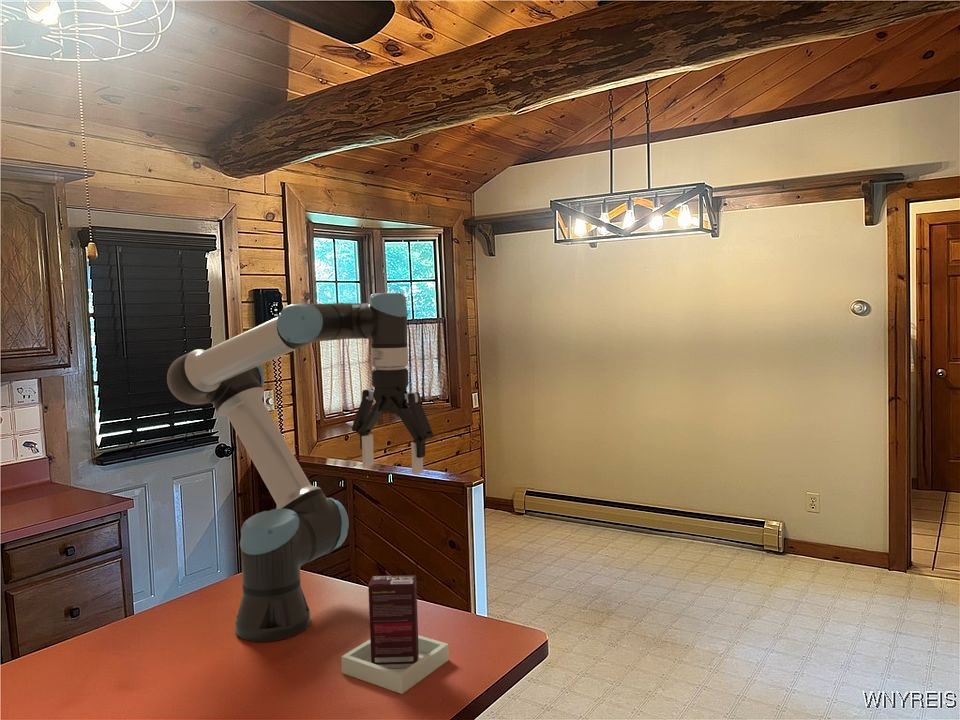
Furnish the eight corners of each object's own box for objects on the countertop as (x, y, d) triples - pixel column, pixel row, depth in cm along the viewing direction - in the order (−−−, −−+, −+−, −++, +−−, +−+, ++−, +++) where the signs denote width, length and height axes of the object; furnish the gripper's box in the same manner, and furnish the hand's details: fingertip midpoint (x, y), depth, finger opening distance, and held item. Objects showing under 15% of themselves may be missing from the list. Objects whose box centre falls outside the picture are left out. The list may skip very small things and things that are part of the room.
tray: (341, 672, 132) (341, 656, 132) (391, 642, 144) (390, 626, 144) (402, 694, 125) (401, 676, 124) (448, 659, 136) (448, 643, 136)
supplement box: (419, 655, 137) (417, 574, 136) (417, 668, 132) (415, 584, 131) (373, 656, 137) (371, 574, 135) (369, 669, 132) (367, 584, 131)
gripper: (333, 367, 153) (336, 465, 155) (426, 371, 139) (428, 480, 141) (358, 364, 160) (361, 459, 161) (449, 368, 146) (451, 472, 147)
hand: (392, 469), depth 151 cm, fingers open, 13 cm apart
